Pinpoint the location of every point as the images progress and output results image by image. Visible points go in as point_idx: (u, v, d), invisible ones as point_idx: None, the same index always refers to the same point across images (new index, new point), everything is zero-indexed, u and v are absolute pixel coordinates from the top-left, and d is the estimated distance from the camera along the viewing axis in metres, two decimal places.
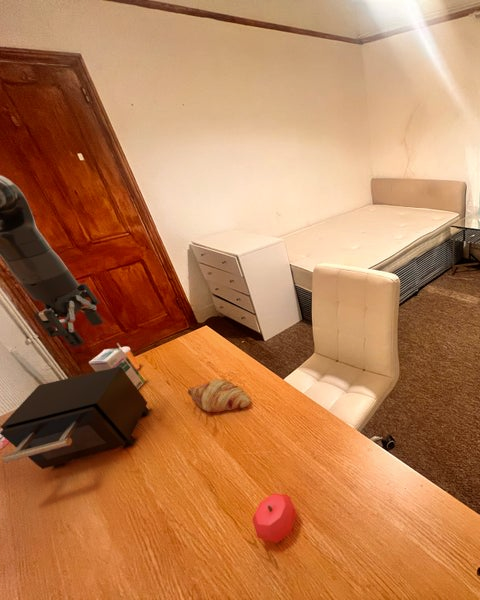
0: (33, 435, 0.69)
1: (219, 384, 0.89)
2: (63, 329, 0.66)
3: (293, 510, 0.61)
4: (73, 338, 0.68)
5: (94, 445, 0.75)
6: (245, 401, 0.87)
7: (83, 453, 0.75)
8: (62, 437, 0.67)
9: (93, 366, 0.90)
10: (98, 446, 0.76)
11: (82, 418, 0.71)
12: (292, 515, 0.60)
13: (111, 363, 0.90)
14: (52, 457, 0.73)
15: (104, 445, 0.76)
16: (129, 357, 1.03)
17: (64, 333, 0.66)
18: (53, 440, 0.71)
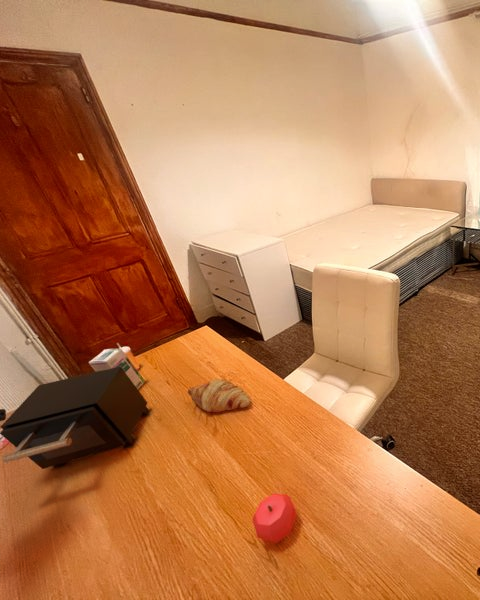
0: (33, 435, 0.69)
1: (219, 384, 0.89)
2: None
3: (293, 510, 0.61)
4: None
5: (94, 445, 0.75)
6: (245, 401, 0.87)
7: (83, 453, 0.75)
8: (62, 437, 0.67)
9: (93, 366, 0.90)
10: (98, 446, 0.76)
11: (82, 418, 0.71)
12: (292, 515, 0.60)
13: (111, 363, 0.90)
14: (52, 457, 0.73)
15: (104, 445, 0.76)
16: (129, 357, 1.03)
17: None
18: (53, 440, 0.71)
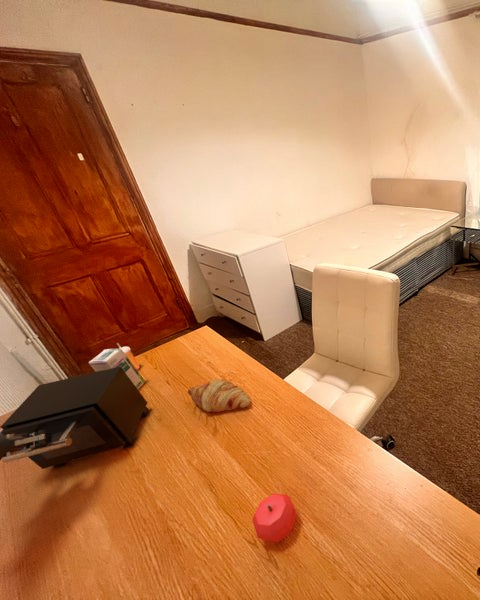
0: None
1: (219, 384, 0.89)
2: None
3: (293, 510, 0.61)
4: None
5: (94, 445, 0.75)
6: (245, 401, 0.87)
7: (83, 453, 0.75)
8: (62, 437, 0.67)
9: (93, 366, 0.90)
10: (98, 446, 0.76)
11: (82, 418, 0.71)
12: (292, 515, 0.60)
13: (111, 363, 0.90)
14: (52, 457, 0.73)
15: (104, 445, 0.76)
16: (129, 357, 1.03)
17: None
18: (53, 440, 0.71)
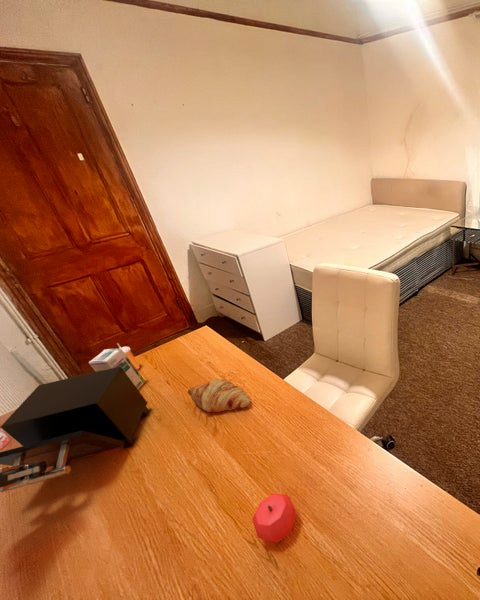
0: (22, 458, 0.65)
1: (219, 384, 0.89)
2: None
3: (293, 510, 0.61)
4: None
5: (92, 450, 0.74)
6: (245, 401, 0.87)
7: (82, 456, 0.75)
8: (58, 465, 0.65)
9: (93, 366, 0.90)
10: (97, 450, 0.75)
11: (72, 441, 0.67)
12: (292, 515, 0.60)
13: (111, 363, 0.90)
14: (50, 462, 0.72)
15: (103, 449, 0.75)
16: (129, 357, 1.03)
17: None
18: (46, 456, 0.69)
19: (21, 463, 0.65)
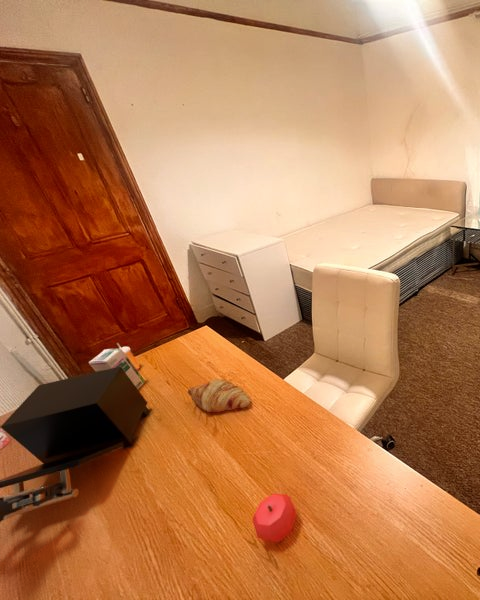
0: (21, 483, 0.64)
1: (219, 384, 0.89)
2: None
3: (293, 510, 0.61)
4: None
5: None
6: (245, 401, 0.87)
7: None
8: (64, 490, 0.65)
9: (93, 366, 0.90)
10: None
11: None
12: (292, 515, 0.60)
13: (111, 363, 0.90)
14: None
15: None
16: (129, 357, 1.03)
17: None
18: None
19: (21, 488, 0.64)
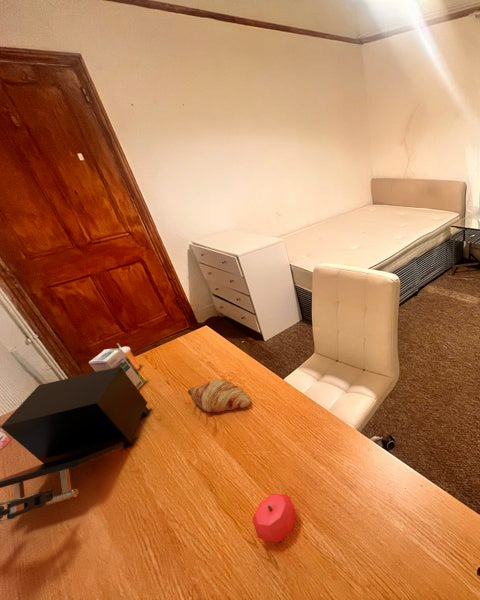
0: (21, 483, 0.64)
1: (219, 384, 0.89)
2: None
3: (293, 510, 0.61)
4: None
5: None
6: (245, 401, 0.87)
7: None
8: (64, 490, 0.65)
9: (93, 366, 0.90)
10: None
11: None
12: (292, 515, 0.60)
13: (111, 363, 0.90)
14: None
15: None
16: (129, 357, 1.03)
17: None
18: None
19: (21, 487, 0.64)
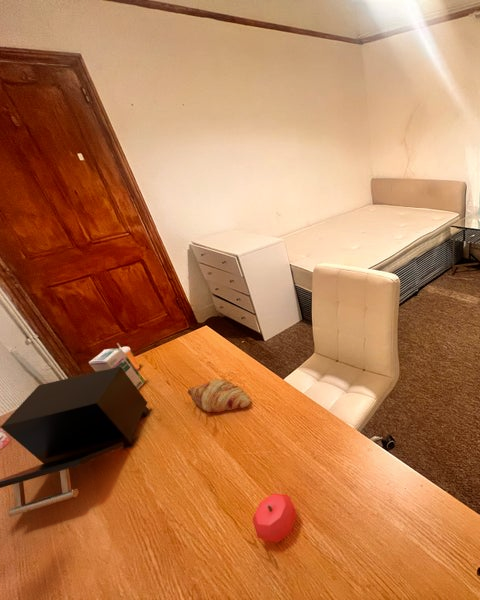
0: (21, 483, 0.64)
1: (219, 384, 0.89)
2: None
3: (293, 510, 0.61)
4: None
5: None
6: (245, 401, 0.87)
7: None
8: (64, 490, 0.65)
9: (93, 366, 0.90)
10: None
11: None
12: (292, 515, 0.60)
13: (111, 363, 0.90)
14: None
15: None
16: (129, 357, 1.03)
17: None
18: None
19: (21, 487, 0.64)
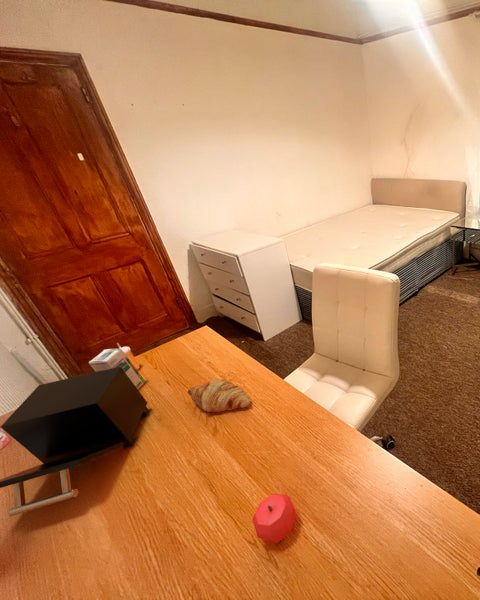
0: (21, 483, 0.64)
1: (219, 384, 0.89)
2: None
3: (293, 510, 0.61)
4: None
5: None
6: (245, 401, 0.87)
7: None
8: (64, 490, 0.65)
9: (93, 366, 0.90)
10: None
11: None
12: (292, 515, 0.60)
13: (111, 363, 0.90)
14: None
15: None
16: (129, 357, 1.03)
17: None
18: None
19: (21, 487, 0.64)
